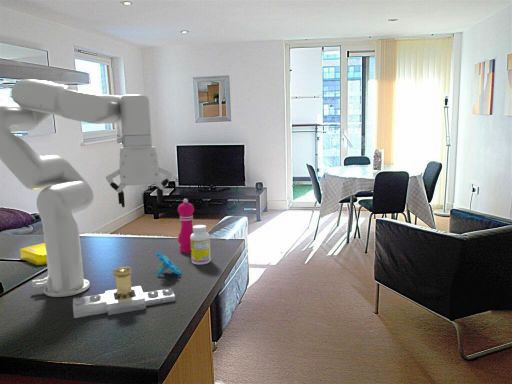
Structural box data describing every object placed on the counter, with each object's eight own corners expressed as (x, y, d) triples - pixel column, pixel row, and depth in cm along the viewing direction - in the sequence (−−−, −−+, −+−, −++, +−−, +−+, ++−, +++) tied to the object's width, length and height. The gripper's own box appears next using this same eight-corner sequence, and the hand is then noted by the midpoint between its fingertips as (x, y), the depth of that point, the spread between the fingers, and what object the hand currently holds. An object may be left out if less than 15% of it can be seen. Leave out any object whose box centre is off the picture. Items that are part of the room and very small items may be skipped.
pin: (116, 309, 120) (113, 273, 118) (115, 303, 124) (112, 268, 123) (135, 306, 122) (132, 271, 120) (133, 300, 126) (130, 265, 124)
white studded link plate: (73, 321, 114) (72, 307, 113) (74, 306, 123) (73, 293, 122) (176, 303, 123) (175, 290, 122) (170, 291, 132) (169, 279, 131)
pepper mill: (199, 251, 170) (197, 199, 167) (180, 254, 167) (177, 201, 164) (195, 246, 177) (192, 196, 173) (176, 249, 174) (173, 198, 171)
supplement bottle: (194, 258, 161) (193, 223, 159) (212, 259, 160) (211, 224, 158) (189, 265, 155) (187, 228, 153) (208, 265, 154) (206, 228, 152)
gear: (184, 275, 142) (160, 255, 139) (171, 289, 141) (147, 270, 138) (179, 264, 152) (157, 246, 149) (167, 278, 152) (144, 259, 148)
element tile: (19, 260, 167) (17, 247, 166) (58, 250, 178) (56, 238, 178) (39, 267, 158) (38, 254, 157) (79, 256, 169) (77, 244, 168)
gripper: (103, 144, 114) (108, 210, 117) (171, 141, 120) (175, 204, 123) (102, 142, 121) (107, 205, 124) (167, 140, 127) (171, 200, 130)
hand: (141, 204), depth 123 cm, fingers open, 9 cm apart
